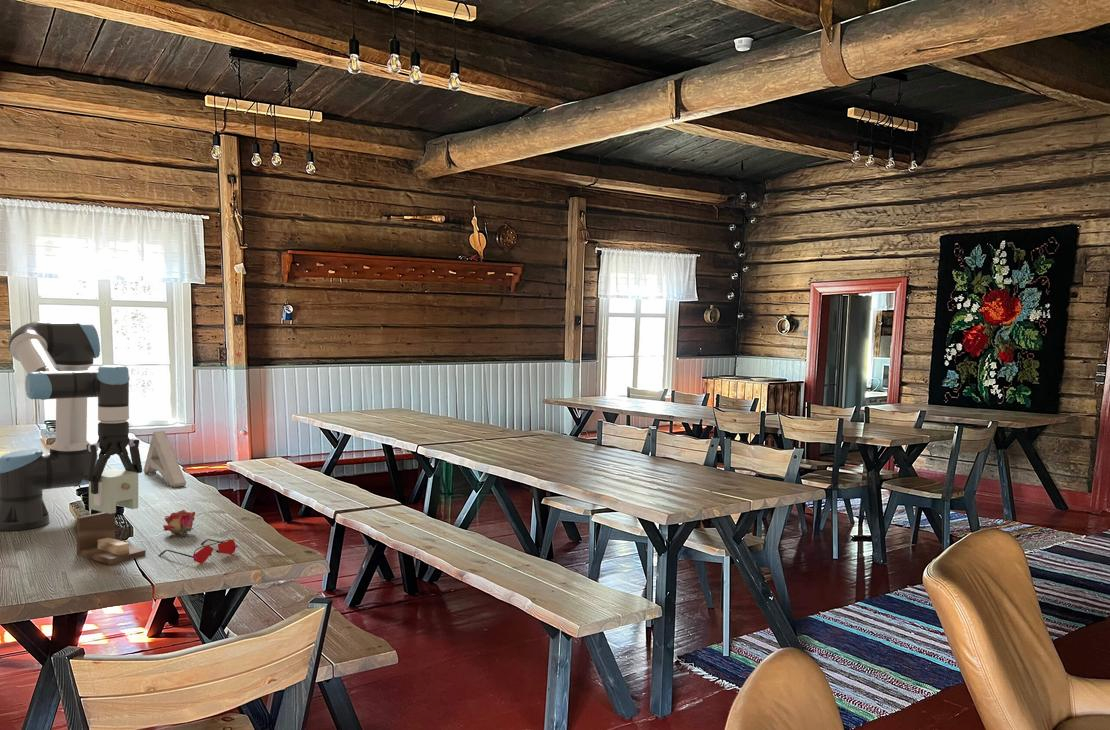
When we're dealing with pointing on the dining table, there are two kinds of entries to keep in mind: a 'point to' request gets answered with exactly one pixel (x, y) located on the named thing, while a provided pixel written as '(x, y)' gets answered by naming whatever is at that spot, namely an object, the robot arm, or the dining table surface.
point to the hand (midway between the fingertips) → (113, 501)
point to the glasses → (210, 550)
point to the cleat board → (99, 532)
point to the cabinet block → (116, 491)
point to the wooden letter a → (163, 460)
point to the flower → (180, 522)
